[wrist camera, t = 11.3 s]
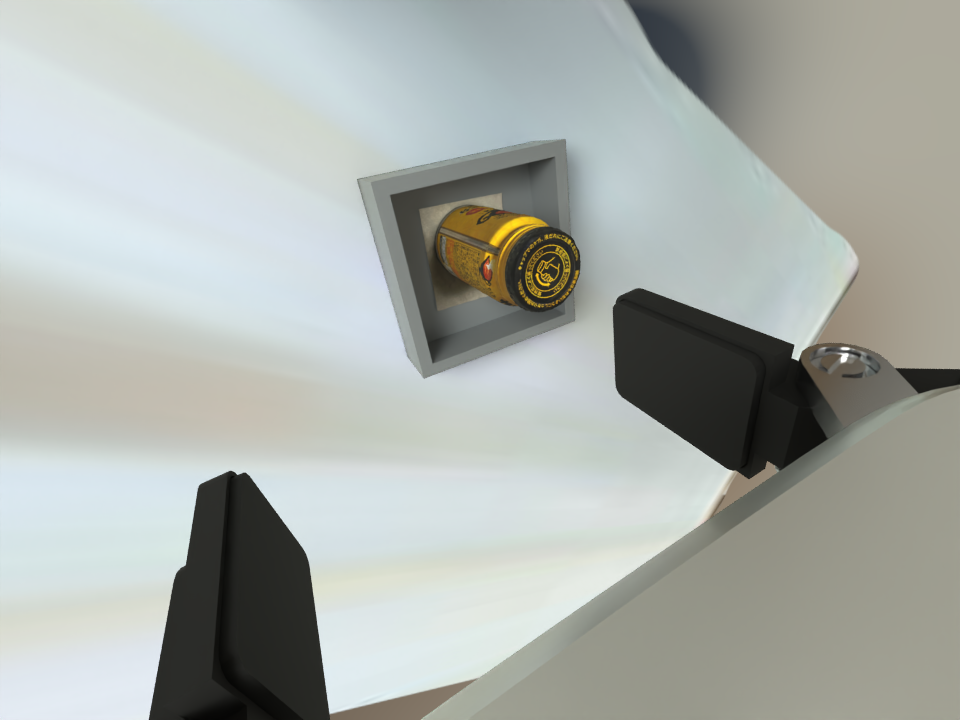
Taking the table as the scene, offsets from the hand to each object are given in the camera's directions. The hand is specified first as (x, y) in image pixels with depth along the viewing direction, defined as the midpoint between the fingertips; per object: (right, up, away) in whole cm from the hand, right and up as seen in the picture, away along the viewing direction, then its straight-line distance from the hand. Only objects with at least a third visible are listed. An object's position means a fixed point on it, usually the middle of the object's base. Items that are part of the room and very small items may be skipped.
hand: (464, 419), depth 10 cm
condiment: (-1, +11, +26) cm, 28 cm away
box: (-1, +11, +26) cm, 28 cm away
